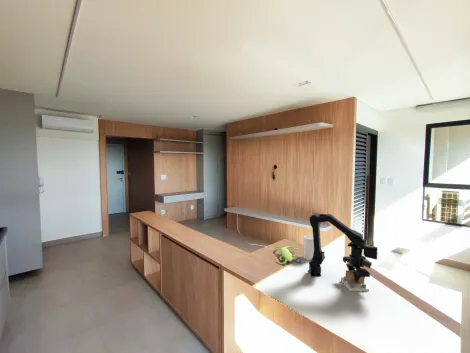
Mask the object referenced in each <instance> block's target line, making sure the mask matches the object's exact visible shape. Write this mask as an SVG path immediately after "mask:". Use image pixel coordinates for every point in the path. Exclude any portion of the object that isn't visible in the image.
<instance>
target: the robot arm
mask: <svg viewBox="0 0 470 353" xmlns="http://www.w3.org/2000/svg"><path fill="white" fill-rule="evenodd" d="M327 222H328V223H330V225H332V226H333V227H335V229H338V231H340V232H341V233H342V234H344V235H345V236H346V237H347V239H348V240H349V241H350V242H349V243H348V242H347V247H349V248H350V254H348V256H343V257H342V262H344V263H345V266H346V268H347V270H356V271H353V274H354V278H355V281H356V282H358V281H359V279H360V277H365V278H371V273H370V272H369V271H368V270H367V268H368V269H371V267H372V265H373V263H372V262H371V261H370V260H369V259H372V260H378V247H377V246H372V245H367V242H366V241H365V239H364V235H363V234H362V233H360V232H358V231H356V230H354V229H352V228H350V227H349V226H347V225H346V224H344V223H343V222H341V221H340V220H339V219H338V218H336V217H335V216H334V215H332V213H326V214H325V213H316V212H315V213H313V214H312V215H310V216H309V225H310V226H311V228H312V229H311V230H312V236H313V241H314V253H313V258H312V259H311V260H309V262H308V270H307V271H308V273H309V274H310V276H311V277H322V274H321V273H322V267H321V265H322V263H323V262H324V261H325V259H326V256H325V251H323V250H322V243H321V229H320V228H321V223H327ZM367 258H368V259H367ZM365 267H366V268H365Z"/></svg>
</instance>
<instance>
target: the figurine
mask: <svg viewBox="0 0 470 353" xmlns="http://www.w3.org/2000/svg"><path fill="white" fill-rule="evenodd" d="M288 248H290V249H293V250H295V251H296V250H298V248H299V247H298V246H297V245H294V244H291V245H288V246H283V247H281V248H280V245H277V246H276V247H275V248H274V251H275V252H276V251H279V250H280V254H281V255H280V256H279V259H278V258H277V259H276V263H277V264H279V265H285V264H287V262H292V261H293V257H294V258H296V259H295V262H297V263H301V261H302V258H301V257H299V256H298V255H295V254H292V252H290V250H289V249H288ZM282 258H283V259H282ZM279 260H280V261H283V262H280V261H279Z"/></svg>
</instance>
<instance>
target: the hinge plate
mask: <svg viewBox="0 0 470 353" xmlns="http://www.w3.org/2000/svg"><path fill="white" fill-rule="evenodd" d="M345 276H346V275H345ZM345 276H341V278H340V281H341V282H342V284H343V283H344V284H343V285H344V286H345V287H346V289H347V290H348V291H350V292H369V291H370V288H369V287H368V286H367V284H366V283H365V282H364V283H362V284H353V283H350V284H349V283H348V282H347V281H346V280H345Z"/></svg>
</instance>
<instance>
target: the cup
mask: <svg viewBox="0 0 470 353" xmlns="http://www.w3.org/2000/svg"><path fill="white" fill-rule="evenodd" d="M313 253H314V241H313V235H311V234H308V235H304V236H303V255H302V256H303V259H304V260H307V261H310V260H311V259H312V258H313Z"/></svg>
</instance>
